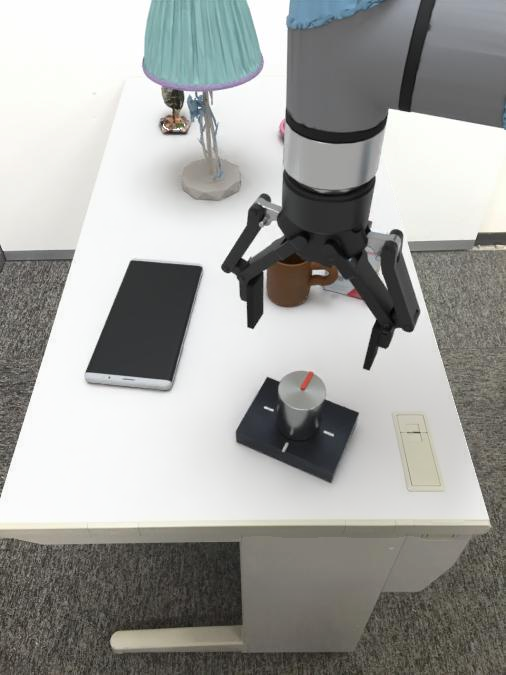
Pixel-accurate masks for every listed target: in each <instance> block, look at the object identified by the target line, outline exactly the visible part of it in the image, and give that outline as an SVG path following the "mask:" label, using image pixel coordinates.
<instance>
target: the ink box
mask: <svg viewBox="0 0 506 675" xmlns="http://www.w3.org/2000/svg"><path fill="white" fill-rule="evenodd" d="M370 229H371V231H372V232H377V233H383V234H388V235H389V231H385V230H381V229H377V228H374V227H371V228H370ZM365 251H366V252H367V255H368V261H369V262H370V264H371V265H372V267H373V268H374V270H375V271H376V273H377V275H378V276H379V274H380V270H381V261H376V259H375V257H376V256H375V254H374V251H373V250H372V249H371V248H370V247H366V248H365ZM350 260H351V259H349V261H350ZM328 274H329V272H328V271H326V270H324V276H327V275H328ZM323 289H324V291H325V290H326V291H329V292H332V293H333V292H334V293H337V294H342V295H345V296H349V297H352V298H356V299H361V300H363V299H362V298H361V296H360V295H359V294H358V292H357V291H356V289H355V288H354V286H353V285H352V284H351V282H350V281H349V280H345V279H344V278H343V277H342V275H341V274H340V272H339V271H338V278H337V280H336V281H335V282H334V283H333V284H331V285H328V286H323Z"/></svg>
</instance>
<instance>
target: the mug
mask: <svg viewBox="0 0 506 675" xmlns="http://www.w3.org/2000/svg"><path fill="white" fill-rule="evenodd" d="M278 239H279V238H277V239H275V240H273V241H272V242H271V243H270V245H271V244H272V243H274V242H275V241H276V240H278ZM314 271H328V272H329V274H328V275H327V276H325V275H322V274H313V272H314ZM337 278H338V269H337V268H336V267H335V266H333V267H332V269H331V268H328V267H325V266H322V265H321V264H319V263H317V262H309V261H305V260H302V259H301V256H299V255H298V254H297V253H296V252H295V253H294V254H292V255H290V256H289V257H287V258H286V259H284V260H280V261H278V262H277V263H275V264H274V265H272V266H271V267H269V268H268V269H266V286H265V287H266V293H267V296H268V298H269V299H270V300H271V301H272V302H273V303H275V304H276V305H279V306H283V307H295V306H298V305H300V304H302V303H304V302H305V301H306V300H307V299H308V297H309V296H310V292H311V288H312V287H313V286H320V287H324V286H328V285H331V284H333V283H334V282H335V281H336V280H337Z"/></svg>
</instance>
